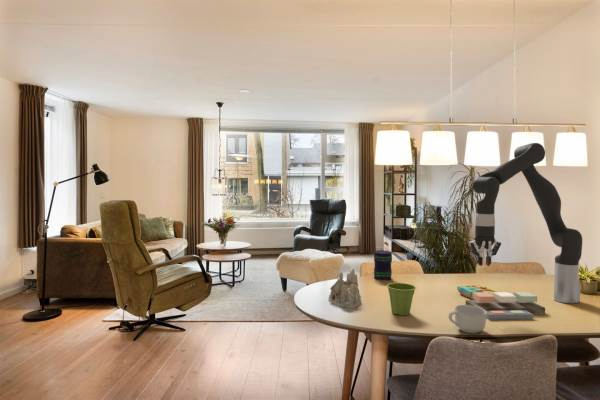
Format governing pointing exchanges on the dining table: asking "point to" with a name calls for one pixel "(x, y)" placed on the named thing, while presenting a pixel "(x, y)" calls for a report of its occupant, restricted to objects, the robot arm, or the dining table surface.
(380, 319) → the dining table surface
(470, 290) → the puzzle game
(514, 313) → the card
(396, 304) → the plant pot
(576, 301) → the robot arm
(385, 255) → the storage jar
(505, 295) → the key cream
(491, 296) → the key terracotta
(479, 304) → the keypad base
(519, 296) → the key sage
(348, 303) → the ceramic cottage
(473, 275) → the dining table surface
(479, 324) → the teacup
